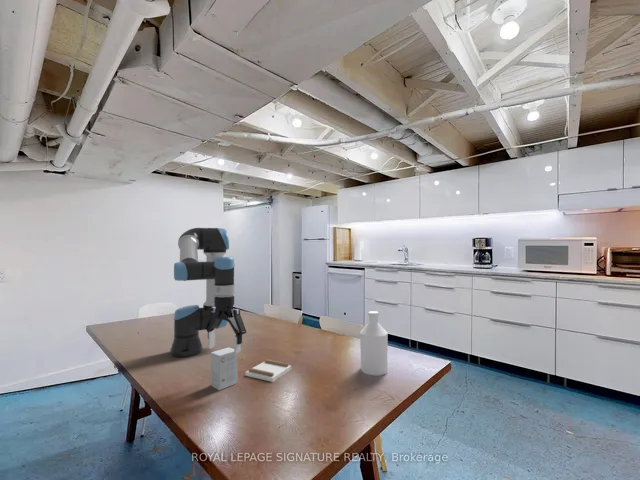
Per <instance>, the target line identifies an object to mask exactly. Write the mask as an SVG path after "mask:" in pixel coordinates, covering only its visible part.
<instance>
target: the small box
mask: <svg viewBox="0 0 640 480" xmlns="http://www.w3.org/2000/svg"><path fill="white" fill-rule="evenodd" d="M236 384H238V353H236V354H235V353H234V348H232V347H229V346H228V347H226V348H221V349H218V350H215V351H212V352H210V385H211V387H212V388H215V389H216V390H218V391H221V390H224V389H226V388H228V387H231V386H233V385H236Z"/></svg>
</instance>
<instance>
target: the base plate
mask: <svg viewBox="0 0 640 480" xmlns="http://www.w3.org/2000/svg"><path fill="white" fill-rule="evenodd" d="M291 370H292V365H289V363H288V362H283V361H278V360H274V359H268V358H266V359H264V361H263V362H261V363H258V364H257V365H255V366H254V367H249V368H248V370H247V371H245V373H244V374H245V376H246V377H250V378H254V379H258V380H262V381H265V382H266V381H268V382H270V383H274V382H275V381H276V380H278V379H280V378H281V377H283V376H284V375H286V374H287V373H288V372H290V371H291Z"/></svg>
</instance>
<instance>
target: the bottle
mask: <svg viewBox="0 0 640 480" xmlns="http://www.w3.org/2000/svg"><path fill="white" fill-rule="evenodd" d="M379 313H380V312H379V311H376V310H375V311H373V310H369V311H368V312H367V314H368V323H367V324H366V325H365V326H364V327H363V328H362V329H361V330H360V332H359V338H360V341H359V342H360V343H359V344H360V345H359V346H360V371H361V372H362V373H364V374H366V375H369V376H382V375H386V374H388V336H389V335H388V331H386V330H385V329H384V328H383V326H382V325H381V324H380V323H379V315H380V314H379Z"/></svg>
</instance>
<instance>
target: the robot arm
mask: <svg viewBox="0 0 640 480" xmlns="http://www.w3.org/2000/svg"><path fill="white" fill-rule="evenodd" d="M177 241H178V242H177V246H178V249H179V261H177V262H175V263H174V265H173V279H174V280H175V281H178V282H179V281H181V282H182V281H184V282H187V281H199V280H200V281H202V280H204V281H205V280H206V281H205V282H206V283H205V284H206V286H205V288H206V292H205V295H206V299H205V302H203V303H202V307H200V306H199V304H191V305H187V306H181V307H179V308H177V309H175V312H174V316H173V320H174V323H173V324H174V325H173V326H174V327H173V333H174V335H173V341H172V344H171V348H170V350H169V351H170V352H169V354H170V356H171V355H172V356H171V357H173V356H175V357H174V358H186V356H187V357H191V356H195V355H197V354H200V353H202V351H203V345H202V341H201V338H200V335H199V334H200V333H199V332H200V331H204V330H205V331H206V332H207V340H208V349H209V350H210V349H213V348H216V330H218V329H222V328H225V327H227V325H228V324H229V325H230V328H231V329H232V330H233V332H234V334H235V335H234V338H233V339H234V342H233V343H234V346H233V349H234V353H235V354H236V353H237V354H238V353H241V352H242V344H243V335H245V334H247V329H246V326H245V323H244V322H243V318H242V316H241V310H240V308H235V309H234V305H235V258H234V257H233V256H224V255H226V254H227V251H228V250H230V240H229V234H228V232H227V230H226V229H225V228H221V227H220V228H219V227H194V228H190V229H188V230H186V231H185V232H183V233H181V235H180V236H179V238H178V240H177ZM198 250H201V251H203V255H205V256H206V257H205V258H206V259H205V260H206V261H199V254H198Z"/></svg>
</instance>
